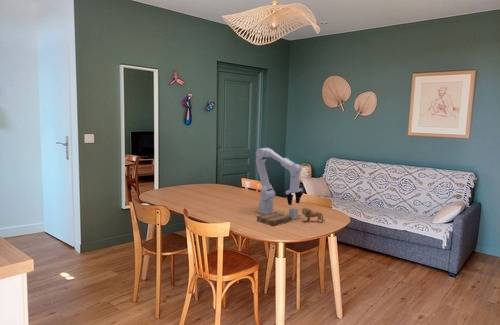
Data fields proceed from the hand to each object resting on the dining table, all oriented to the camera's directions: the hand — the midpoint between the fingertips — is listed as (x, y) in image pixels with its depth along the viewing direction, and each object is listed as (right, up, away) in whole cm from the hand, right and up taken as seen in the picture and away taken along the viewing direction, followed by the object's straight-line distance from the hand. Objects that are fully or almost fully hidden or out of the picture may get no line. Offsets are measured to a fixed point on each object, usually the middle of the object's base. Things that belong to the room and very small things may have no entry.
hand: (293, 203), depth 236 cm
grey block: (0, -9, +1) cm, 9 cm away
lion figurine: (+11, -11, -6) cm, 17 cm away
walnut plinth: (-13, -10, -7) cm, 18 cm away
